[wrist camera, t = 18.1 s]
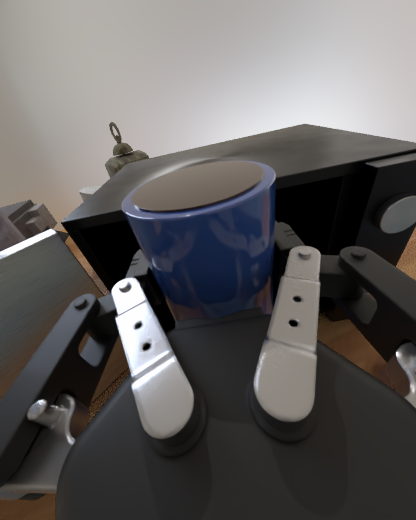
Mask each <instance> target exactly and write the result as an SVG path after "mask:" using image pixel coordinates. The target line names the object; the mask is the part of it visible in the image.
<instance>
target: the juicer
mask: <svg viewBox="0 0 416 520" xmlns="http://www.w3.org/2000/svg"><path fill="white" fill-rule="evenodd" d="M56 224H57V222H56V221H55V219H54V218H53V217H52V215H51V214H50V212H49V211H48V209H47V208H46V207H45V205H44V204H33V203H32V201H31V200H27V201H24V202H20V203H16V204H13V205H9V206H5V207H2V208H0V252H1V251H3V250H6V249H8V248H10V247H12V246H14V245H17V244H19V243H21V242H23V241H25V240H28V239H30V238H32V237H34V236H36V235H38V234H41V233H43V232H45V231H47V230H49V229H53V228H54V227H55V225H56ZM54 231H55V230H54ZM56 232H57V233H58V234H59V236H60V237H61V238H62V240H63V241H64V242H65V240H66V239H67V237H68V235H69V234H68V233H65V232H60V231H56Z"/></svg>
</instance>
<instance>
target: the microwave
mask: <svg viewBox="0 0 416 520" xmlns="http://www.w3.org/2000/svg"><path fill="white" fill-rule="evenodd" d="M221 161H254V162H259V163H263V164H266V165H268V166H270V167H271V168H273V170H274V171H275V173H276V210H275V220H276V221H277V223H280V222H283V223H285V224H287V225H289V226H290V227H291V229H292V230H293V231H294V232H295V234H296V235H297V236H298V237H299V238H300V240H301V241H302V242H303V243H304V245H305V246H310V247H313V248H315V249H317V250H318V251H319V252H320V254H321V255H335V256H339V255H340V252H341V250H342V249H344V248H346V247H351V246H357V247H363V248H367V249H369V250H371V251H373V252H374V253H376V254H377V255H379V256H380V257H381V258H383V259H384V260H386V261H387V262H389V263H390V264H392V265H393V266H395V267H396V265H397V263H398V261H399V259H400V257H401V255H402V253H403V251H404V249H405V247H406V245H407V243H408V241H409V239H410V237H411V235H412V233H413V231H414V229H415V227H416V143H414V142H408V141H402V140H397V139H391V138H385V137H379V136H373V135H367V134H361V133H355V132H349V131H343V130H338V129H332V128H326V127H320V126H314V125H308V124H302V125H297V126H293V127H288V128H284V129H280V130H275V131H270V132H266V133H261V134H257V135H253V136H248V137H243V138H239V139H234V140H230V141H225V142H221V143H217V144H212V145H208V146H203V147H199V148H194V149H190V150H185V151H181V152H176V153H172V154H167V155H163V156H158V157H154V158H149V159H145V160H140V161H136V162H131V163H127V164H126V165H125V166H124V167H123V168H122V169H121V170H119V171H118V172H117V173H116V174H115V175H114V176H113V177H112V178H110V179H109V180H108V181H107V182H106V183H105V184H104V185H103V186H101V187H100V188H99V189H98V190H97V191H96V192H95V193H93V194H92V195H91V196H90V197H89V198H88V199H87V200H86V201H84V202H83V203H82V204H81V205H80V206H79V207H78V208H77V209H75V210H74V211H73V212H72V213H71V214H70V215H69V216H68V217H66V218H65V219H64V220H63V221H62V222H61V224H62V225H63V227H64V228H65V230H66V231H67V232H68V234H69V235H70V237H71V238H72V239H73V241H74V242H75V244H76V245H77V247H78V248H79V249H80V251H81V252H82V254H83V255H84V256H85V258H86V259H87V261H88V262H89V264H90V265H91V266H92V268H93V269H94V271H95V272H96V273H97V275H98V276H99V278H100V279H101V281H102V282H103V283H104V285H105V286H106V288H107V289H108V290H109V292H110V293H111V291H112V288H113V287H114V285H115V284H116V283H118V282H119V281H121V280H123V279H125V278H126V275H127V273H128V270H129V267H130V266H131V262H132V261H133V257H134V255H135V254H136V253H137V252H138V250H139V249H140V247H139V245H138V242H137V240H136V238H135V236H134V234H133V232H132V230H131V228H130V226H129V223H128V221H127V219H126V217H125V215H124V213H123V211H122V202H123V200H124V199H125V197H126V196H127V195H128V194H129V193H130V192H132V191H133V190H134V189H136V188H137V187H139V186H141V185H142V184H144V183H146V182H148V181H150V180H152V179H155V178H157V177H159V176H162V175H165V174H167V173H170V172H173V171H177V170H180V169H184V168H188V167H192V166H196V165H201V164H207V163H213V162H221ZM279 285H280V284H279V283H278V281H277V279H276V277H275V275H274V305H275V301H276V297H277V293H278V289H279ZM365 292H366V293H367V294H368V295H370V296H371V297H372V298H373V299H374V297H373V296H372V295H371V294H370V293H368V292H367V291H366V290H365ZM374 300H375V299H374ZM375 301H376V300H375ZM154 311H155V313H156V315H157V317H158V319H159V321H160V323H161V325H162V327H163V329H164V331H165V333H167V332H168V331H170V330H172V329H174V328H175V321H174V319H173V316H172V314H171V312H170V310H169V308H168V306H167V304H166V302H165V300H164V297H163V296H162V303H161V304H159V305H154ZM323 312H325V313H326V315H327V316H328V318H329V320H330V321H338V320H344V319H349V318H348V317H347V316H346V315H345V314H344V313H343V311H342V310H341V309H340V308H339V307H338V306H337V304H336V303H335V302H334V301H333V300H332V299H331V297H320V296H319V312H318V313H323Z"/></svg>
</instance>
